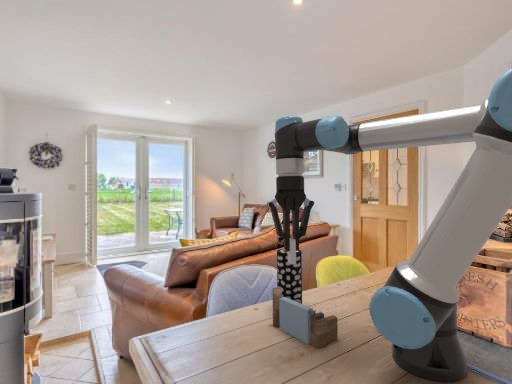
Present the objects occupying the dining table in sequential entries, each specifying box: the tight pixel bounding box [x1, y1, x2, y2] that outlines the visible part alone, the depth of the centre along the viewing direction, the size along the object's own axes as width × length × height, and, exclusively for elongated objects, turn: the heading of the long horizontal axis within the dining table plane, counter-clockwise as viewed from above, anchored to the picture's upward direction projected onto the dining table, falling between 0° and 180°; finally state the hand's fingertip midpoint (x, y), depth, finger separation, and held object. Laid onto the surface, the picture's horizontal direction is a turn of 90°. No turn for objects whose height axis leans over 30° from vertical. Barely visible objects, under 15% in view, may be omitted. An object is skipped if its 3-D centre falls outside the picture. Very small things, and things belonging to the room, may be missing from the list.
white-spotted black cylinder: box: [276, 248, 303, 304], centre depth 101 cm, size 8×8×20 cm
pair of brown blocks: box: [272, 287, 339, 349], centre depth 85 cm, size 17×10×11 cm, turn 31°
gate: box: [279, 297, 317, 345], centre depth 83 cm, size 12×2×9 cm, turn 38°
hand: (291, 262), depth 81 cm, fingers closed
